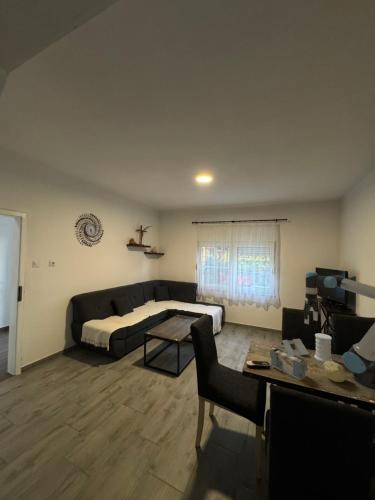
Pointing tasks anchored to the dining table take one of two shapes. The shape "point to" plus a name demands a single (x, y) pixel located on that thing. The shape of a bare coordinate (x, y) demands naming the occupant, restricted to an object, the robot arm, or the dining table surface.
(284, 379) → the dining table surface
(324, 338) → the decorative container
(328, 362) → the pale yellow round lump
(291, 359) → the rail
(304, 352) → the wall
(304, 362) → the bracket stand
